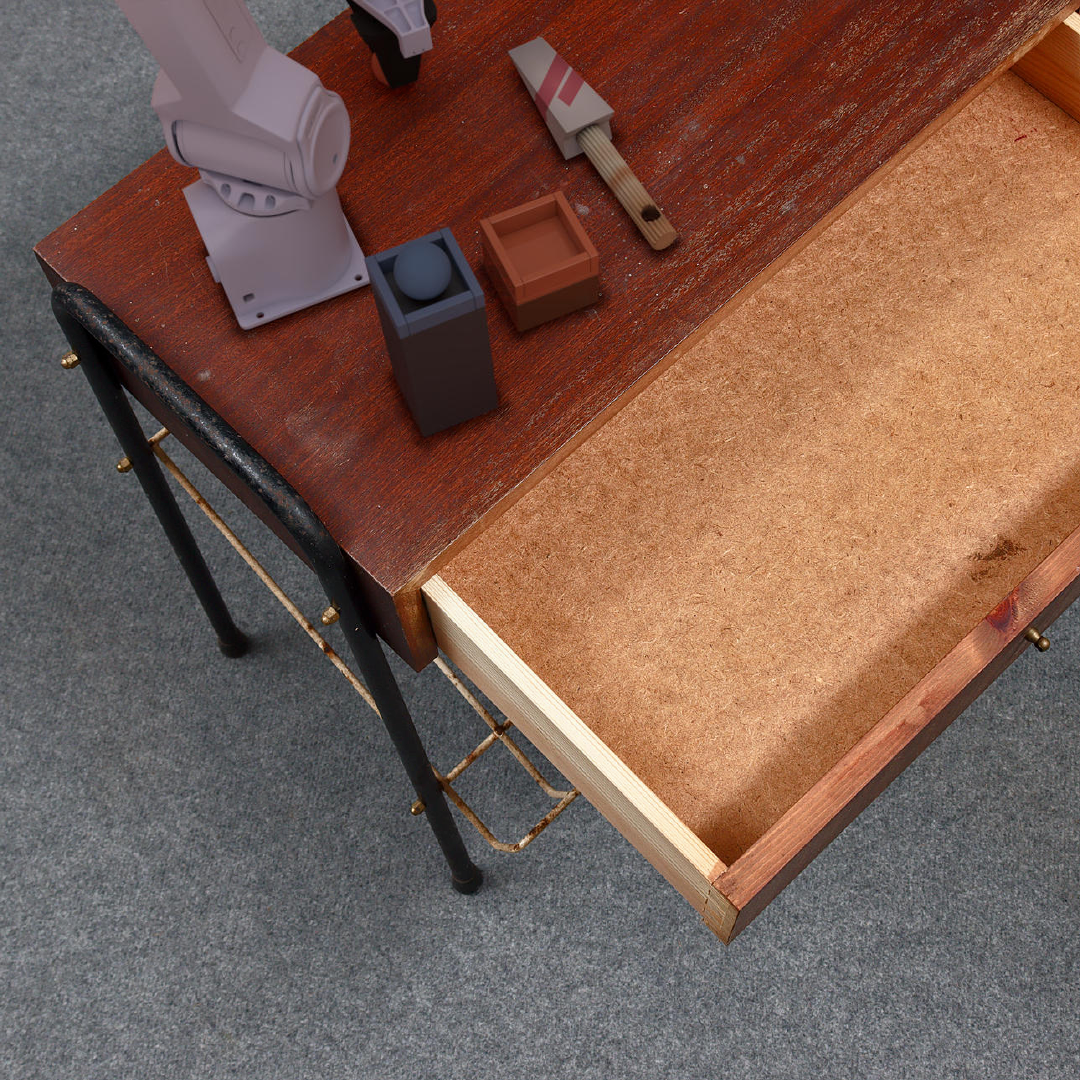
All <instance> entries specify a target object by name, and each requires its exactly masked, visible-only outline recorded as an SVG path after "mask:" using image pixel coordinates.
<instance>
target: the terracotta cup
mask: <svg viewBox="0 0 1080 1080" xmlns="http://www.w3.org/2000/svg"><path fill="white" fill-rule="evenodd" d="M575 213H576V212H575V211H574V210H573V208H572V207H571V205H570V203H569V202H568V200H567V198H566V196H565V195H564V193H563V191H562V190H556V191H555V192H552V193H550V194H547V195H544V196H541V197H539V198H536V199H534V200H531V201H528V202H526V203H523V204H520V205H518V206H515V207H513V208H510V209H507V210H505V211H502V212H499V213H497V214H493V215H491V216H489V217H486V218H483V219H480V220H479V222H478V223H479V231H480V240H481V248H482V255H483V263H484V264H483V265H484V270H485V271H486V273H487V276H488V277H489V279H490V282H491V283H492V285H493V287H494V289H495V291H496V292H497V294H498V296H499V298H500V300H501V302H502V303H503V306H504V307H505V309H506V311H507V313H508V315H509V317H510V319H511V320H512V322H513V324H514V326H515V328H516V330H517V331H518V333H522V332H525V331H527V330H530V329H533V328H535V327H537V326H540V325H542V324H546V323H548V322H550V321H553V320H556V319H557V318H560V317H562V316H563V317H564V316H566V315H568V314H571V313H573V312H575V311H578V310H581V309H583V308H586V307H588V306H591V305H592V304H595V303H598V302H599V278H600V277H599V273H600V270H599V268H600V267H599V266H600V264H599V263H600V262H599V261H600V259H599V258H600V254H599V252H598V250H597V249H596V248H595V246H594V244H593V242H592V240H591V239H590V237H589V235H588V234H587V232H586V230H585V228H584V227H583V226H582V224H581V222H580V220H579V219H578V217H577V215H576V214H575Z"/></svg>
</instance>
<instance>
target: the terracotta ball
mask: <svg viewBox="0 0 1080 1080" xmlns="http://www.w3.org/2000/svg"><path fill="white" fill-rule="evenodd" d="M371 68H372V72H373V75H374V76H375V77H376V78H377V80H378V81H379V82H380V83H381V84H383V85H384V86H385V85H386V86H387V87H390V86H389V84H388V82H387V80H386V78H385V76H384V74H383V72H382V70H381V67H380V65H379V62H378V60H377V57H376V54H375V52H374V54H372V57H371Z"/></svg>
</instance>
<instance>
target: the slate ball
mask: <svg viewBox="0 0 1080 1080" xmlns="http://www.w3.org/2000/svg"><path fill="white" fill-rule="evenodd" d="M394 277H395V281H396V283H397V285H398V287H399V288H400V289H401V291H402V292H403V293H404V294H406V295H407V296H409V297H411V298H413V299H416V300H430V299H433V298H435V297H437V296H439V295H440V294H442V293H443V292H444V290H445V289H446V288H447V286H448V284H449V282H450V279H451V265H450V261H449V259H448V257H447V255H446V254H445V252H444V251H443V250H442V249H441V248H439V247H438V246H436V245H435V244H432V243H429V242H415V243H412V244H409V245H408V246H406V247H405V248H404V249H402V250H401V252H400V253H399V254H398V256H397V258H396V260H395V264H394Z"/></svg>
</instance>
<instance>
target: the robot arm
mask: <svg viewBox="0 0 1080 1080" xmlns="http://www.w3.org/2000/svg"><path fill="white" fill-rule="evenodd" d="M345 1H346V3H347V4H348V6H349V8H350V9H351V11H352V13H349V17H350V21H351V23H352V24H353V26H354V28H355V30H356V32H357V34H358V36H359V37H360V38H361V39H362V41H363V42H364V43H365V44H366V45H367V46H368V49H369V50H370V52H371V53H372V55H373V54H374V52H375V54H376V57H377V60H378V62H379V65H380V67H381V70H382V72H383V74H384V76H385V78H386V80H387V82H388V84H389V86H388V87H390V89H391V90H397V89H399V88H402V87H404V86H407V85H410V84H413V83H416V82H417V81H418V79H419V76H420V75H419V74H420V69H421V63H422V55H423V53H425V52H427V51H431V50H433V49H434V47H433V41H432V40H433V39H432V33H431V29H432V27H433V26H434V25H435V23H436V22H437V20H438V7H437V5H436V4H435V3H436V2H435V1H434V0H345ZM114 2H115V3H116V5H117V7H118V8H119V9H120V10H121V12H122V13H123V15H124V16H125V17H126V19H127V20H128V22H129V23H130V25H131V26H132V28H134V30H135V32H136V34H137V35H138V37H139V38H140V39H141V41H142V42H143V43H144V44H145V46H146V48H147V50H149V52H150V53H151V55H152V56H153V58H154V59H155V61H156V62H157V63H158V65H159V66H160V68H159V70H158V74H157V76H156V80H155V82H154V85H153V90H152V95H151V100H150V107H151V108H152V110H153V111H154V112H155V114H156V115H157V117H158V118H159V120H160V123H161V126H162V133H163V137H164V141H165V143H166V146H167V150H168V151H169V153H170V155H171V157H172V158H173V160H174V161H175V162H176V163H178V164H180V165H182V166H184V167H187V168H197V171H198V173H199V175H200V178H199V179H197V180H196V181H194V182H193V183H191V184H189V185H187V186H185V187H183V188H182V189H181V191H182V192H183V195H184V197H185V200H186V203H187V205H188V208H189V210H190V213H191V215H192V217H193V219H194V221H195V224H196V226H197V228H198V231H199V234H200V236H201V238H202V240H203V243H204V245H205V247H206V250H207V252H208V254H209V255H207V256H205V260H206V263H207V265H208V268H209V270H210V272H211V275H212V277H213V279H214V282H215V283H216V284H218V283H221V285H222V287H223V289H224V292H225V294H226V297H227V299H228V301H229V304H230V305H231V308H232V310H233V312H234V315H235V317H236V320H237V322H238V324H239V327H240V328H241V329H242V330H246V331H247V330H251V329H254V328H256V327H258V326H259V327H260V326H261V325H264V324H267V323H269V322H272V321H275V320H277V319H280V318H283V317H285V316H288V315H291V314H292V313H293V314H294V313H295V312H299V311H301V310H303V309H306V308H309V307H311V306H314V305H316V304H319V303H322V302H324V301H327V300H330V299H332V298H335V297H337V296H340V295H342V294H346V293H348V292H350V291H353V290H356V289H358V288H361V287H364V286H366V285H369V284H370V280H369V276H368V272H367V268H366V265H365V261H364V258H366V257H365V254H364V252H363V250H362V249H361V247H360V245H359V242H358V240H357V238H356V236H355V234H354V232H353V229H352V228H351V226H350V224H349V222H348V220H347V218H346V215H345V214H344V212H343V211H344V210H343V208H342V205H341V201H340V197H339V194H338V191H337V190H338V189H337V186H336V185H337V184H338V182H339V180H340V179H341V177H342V175H343V172H344V170H345V166H346V163H347V160H348V156H349V153H350V152H349V151H350V147H351V146H350V145H351V133H352V132H351V131H352V130H351V119H350V116H349V112H348V110H347V108H346V105H345V103H344V100H343V98H342V97H341V95H340V94H338V93H337V92H335V90H334V91H333V90H330V89H326V88H325V87H324V84H323V83H322V81H321V80H320V77H319V76H318V75H317V74H316V73H315V72H314V71H312V70H310V69H308V68H307V67H305V66H304V65H303V64H301V63H299V62H298V61H296V60H294V59H292V58H291V57H289V56H287V55H286V54H284V53H282V52H280V51H279V50H277V49H276V48H274V47H272V46H271V45H269V44H268V43H267V41H266V39H265V38H264V36H263V34H262V32H261V31H260V28H259V26H258V25H257V23H256V21H255V19H254V17H253V16H252V14H251V12H250V10H249V8H248V7H247V3H245V1H244V0H114ZM358 279H360V280H358ZM260 316H261V317H260ZM262 316H263V317H262Z"/></svg>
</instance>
